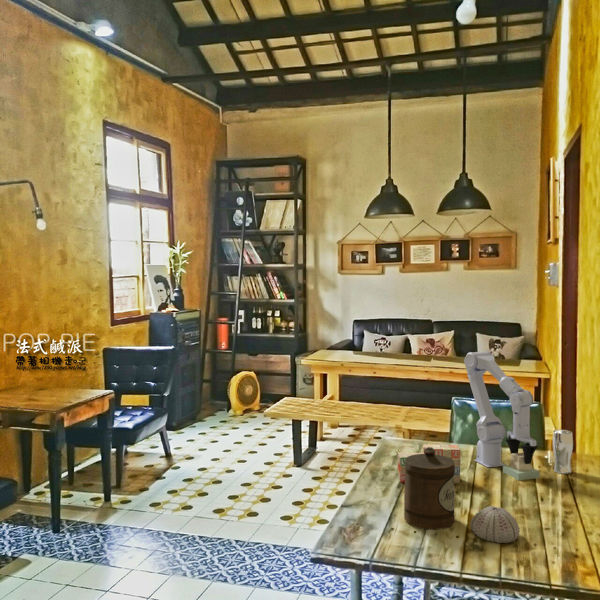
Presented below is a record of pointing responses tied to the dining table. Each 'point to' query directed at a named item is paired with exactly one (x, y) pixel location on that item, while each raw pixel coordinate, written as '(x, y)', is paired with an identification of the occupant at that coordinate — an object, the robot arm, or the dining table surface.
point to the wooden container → (429, 490)
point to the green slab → (521, 473)
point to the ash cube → (519, 462)
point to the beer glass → (562, 450)
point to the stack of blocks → (441, 449)
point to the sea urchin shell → (495, 525)
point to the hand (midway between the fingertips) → (521, 460)
